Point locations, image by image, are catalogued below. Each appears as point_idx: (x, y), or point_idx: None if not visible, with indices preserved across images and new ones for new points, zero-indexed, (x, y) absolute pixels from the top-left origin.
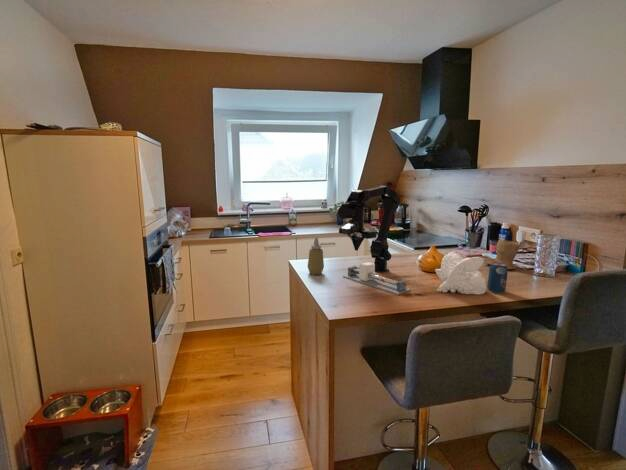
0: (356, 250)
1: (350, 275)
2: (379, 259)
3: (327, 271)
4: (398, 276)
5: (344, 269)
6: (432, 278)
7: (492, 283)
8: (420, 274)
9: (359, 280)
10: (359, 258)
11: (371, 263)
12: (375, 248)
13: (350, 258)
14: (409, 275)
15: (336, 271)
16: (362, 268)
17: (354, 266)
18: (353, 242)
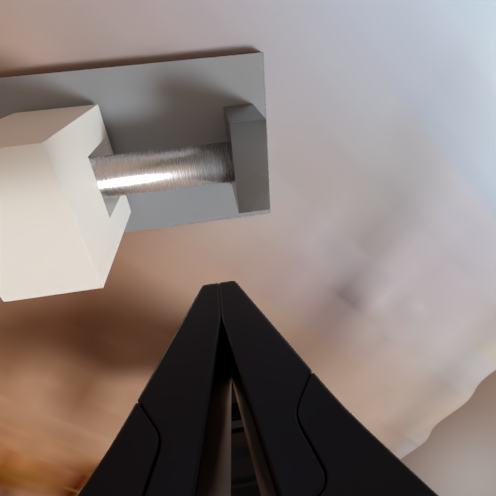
0: (203, 291)
1: (223, 110)
2: (232, 410)
3: (470, 45)
4: (96, 368)
5: (394, 206)
6: (9, 451)
7: None
8: (87, 444)
9: (72, 87)
10: (450, 381)
11: (25, 279)
12: (248, 488)
13: (488, 353)
14: (91, 409)
15: (409, 119)
16: (7, 135)
17: (256, 199)
18: (294, 408)
